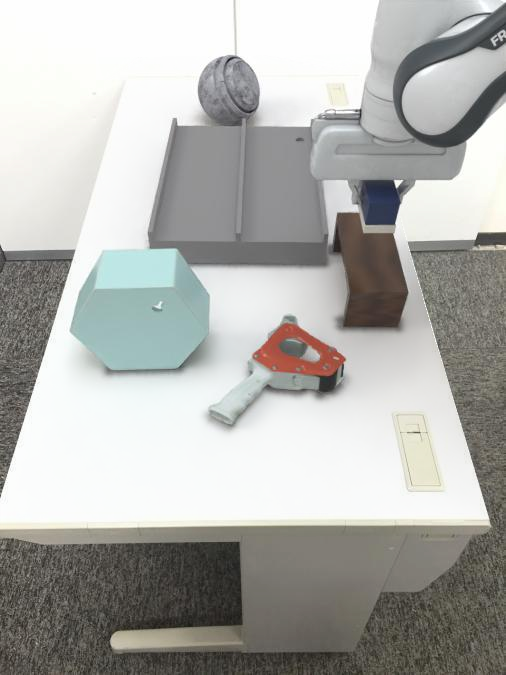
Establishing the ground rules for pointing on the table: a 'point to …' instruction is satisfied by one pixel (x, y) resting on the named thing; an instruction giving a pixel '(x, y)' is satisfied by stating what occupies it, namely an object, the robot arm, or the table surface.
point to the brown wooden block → (369, 274)
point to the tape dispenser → (283, 369)
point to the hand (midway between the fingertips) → (376, 202)
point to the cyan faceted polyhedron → (141, 309)
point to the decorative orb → (228, 90)
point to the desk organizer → (240, 196)
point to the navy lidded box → (379, 206)
